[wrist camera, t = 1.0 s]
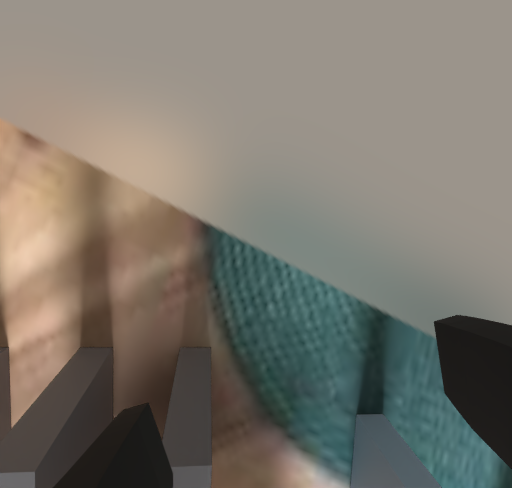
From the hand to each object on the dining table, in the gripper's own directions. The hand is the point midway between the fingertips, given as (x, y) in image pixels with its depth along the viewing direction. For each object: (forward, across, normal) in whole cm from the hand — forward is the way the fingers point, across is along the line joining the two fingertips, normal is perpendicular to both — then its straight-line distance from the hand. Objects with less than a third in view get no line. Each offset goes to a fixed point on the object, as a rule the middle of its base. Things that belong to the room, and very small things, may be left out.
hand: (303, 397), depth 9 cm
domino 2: (+11, +5, +5) cm, 13 cm away
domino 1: (+11, +10, +4) cm, 15 cm away
